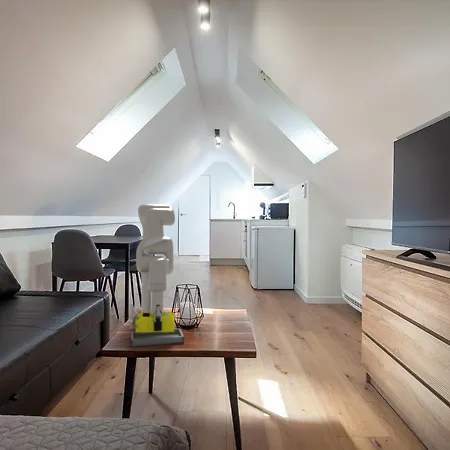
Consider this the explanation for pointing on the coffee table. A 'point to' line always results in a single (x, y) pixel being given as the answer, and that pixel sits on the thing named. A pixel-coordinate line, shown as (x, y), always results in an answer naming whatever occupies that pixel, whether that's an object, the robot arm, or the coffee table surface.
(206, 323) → the coffee table surface
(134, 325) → the pocket watch
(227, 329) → the coffee table surface
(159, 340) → the tray
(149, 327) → the yellow toy chassis
